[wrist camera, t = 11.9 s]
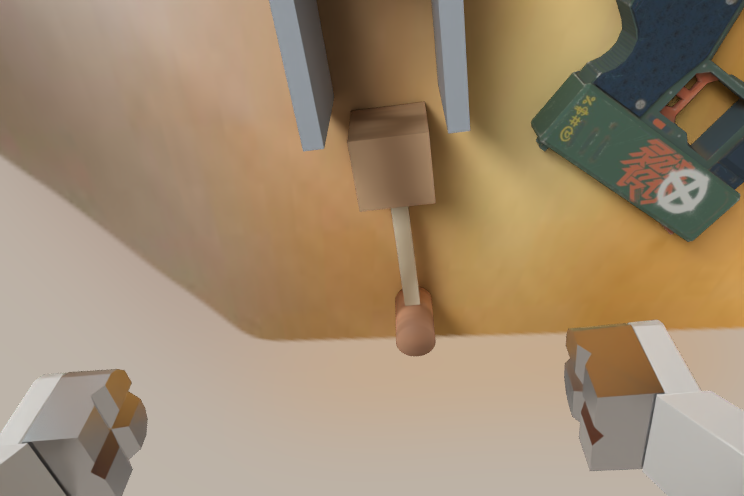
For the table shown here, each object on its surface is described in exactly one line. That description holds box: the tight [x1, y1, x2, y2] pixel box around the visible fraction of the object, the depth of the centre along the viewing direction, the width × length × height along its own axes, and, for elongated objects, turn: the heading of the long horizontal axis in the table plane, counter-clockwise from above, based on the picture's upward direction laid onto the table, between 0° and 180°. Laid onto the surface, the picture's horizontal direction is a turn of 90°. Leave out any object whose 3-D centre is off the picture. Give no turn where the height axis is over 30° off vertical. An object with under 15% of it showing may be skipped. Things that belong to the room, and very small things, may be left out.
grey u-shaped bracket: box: [269, 0, 470, 151], centre depth 33 cm, size 9×13×8 cm
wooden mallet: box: [347, 102, 436, 356], centre depth 43 cm, size 5×18×5 cm, turn 8°
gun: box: [531, 0, 744, 242], centre depth 39 cm, size 3×16×15 cm
